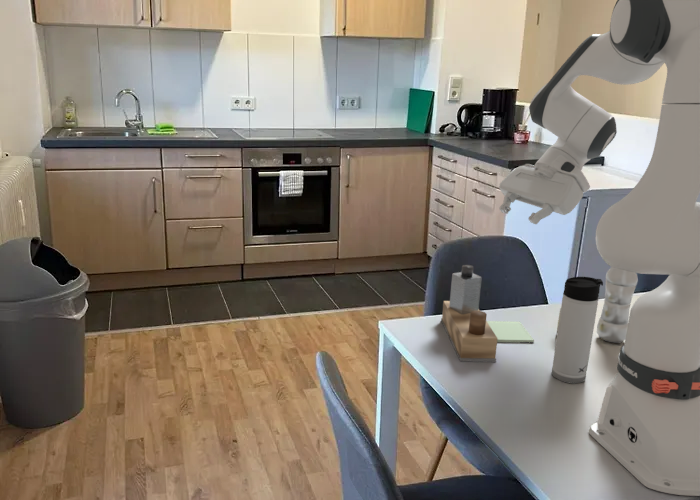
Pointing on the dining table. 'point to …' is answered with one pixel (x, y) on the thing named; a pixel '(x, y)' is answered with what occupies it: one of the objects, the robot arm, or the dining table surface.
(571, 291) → the travel mug
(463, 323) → the plane body
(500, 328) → the felt mat
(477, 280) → the lever cap
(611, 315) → the plastic bottle
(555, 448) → the dining table surface
